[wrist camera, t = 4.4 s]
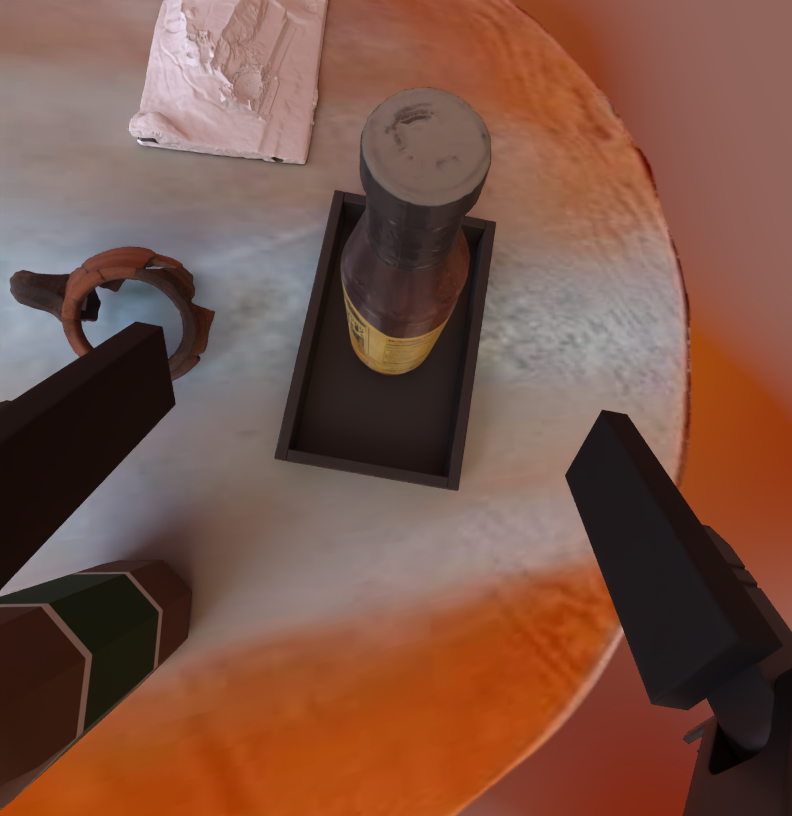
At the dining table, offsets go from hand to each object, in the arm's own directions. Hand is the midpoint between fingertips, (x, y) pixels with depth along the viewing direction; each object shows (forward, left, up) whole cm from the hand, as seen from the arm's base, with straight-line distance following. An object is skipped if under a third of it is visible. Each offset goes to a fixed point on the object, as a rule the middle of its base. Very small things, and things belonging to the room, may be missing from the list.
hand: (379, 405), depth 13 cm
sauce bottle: (0, +8, -18) cm, 20 cm away
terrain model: (-18, +32, -18) cm, 41 cm away
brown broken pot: (-19, +6, -18) cm, 27 cm away
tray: (0, +8, -18) cm, 20 cm away
